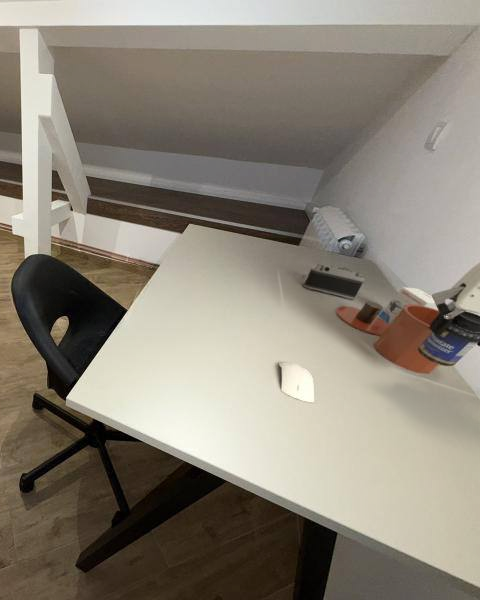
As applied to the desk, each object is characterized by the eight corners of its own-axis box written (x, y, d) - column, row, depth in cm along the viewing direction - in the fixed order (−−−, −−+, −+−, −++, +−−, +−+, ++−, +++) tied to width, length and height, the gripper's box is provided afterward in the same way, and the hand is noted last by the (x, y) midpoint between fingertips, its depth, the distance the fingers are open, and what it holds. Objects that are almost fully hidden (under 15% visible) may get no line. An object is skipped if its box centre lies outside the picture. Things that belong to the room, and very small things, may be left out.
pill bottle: (409, 349, 70) (445, 309, 64) (428, 346, 72) (465, 307, 65) (441, 369, 65) (483, 328, 59) (461, 365, 67) (503, 325, 60)
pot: (420, 351, 86) (456, 314, 79) (441, 382, 76) (484, 342, 69) (367, 336, 90) (396, 299, 83) (380, 363, 80) (415, 324, 73)
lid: (380, 318, 99) (394, 301, 95) (396, 343, 88) (412, 324, 85) (331, 304, 103) (342, 287, 100) (340, 327, 93) (353, 308, 89)
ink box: (376, 317, 99) (401, 286, 93) (391, 318, 100) (417, 287, 93) (399, 334, 92) (427, 302, 86) (415, 336, 92) (444, 303, 86)
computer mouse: (281, 393, 69) (285, 386, 67) (276, 359, 78) (281, 352, 77) (315, 405, 67) (321, 398, 65) (307, 369, 76) (311, 362, 75)
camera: (345, 295, 113) (358, 269, 110) (355, 301, 105) (370, 273, 102) (297, 283, 118) (308, 258, 114) (304, 288, 110) (316, 261, 107)
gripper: (582, 264, 55) (498, 340, 65) (456, 241, 61) (397, 315, 71) (620, 282, 49) (522, 363, 59) (477, 255, 55) (410, 333, 65)
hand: (455, 336), depth 65 cm, fingers closed on pill bottle, 6 cm apart
